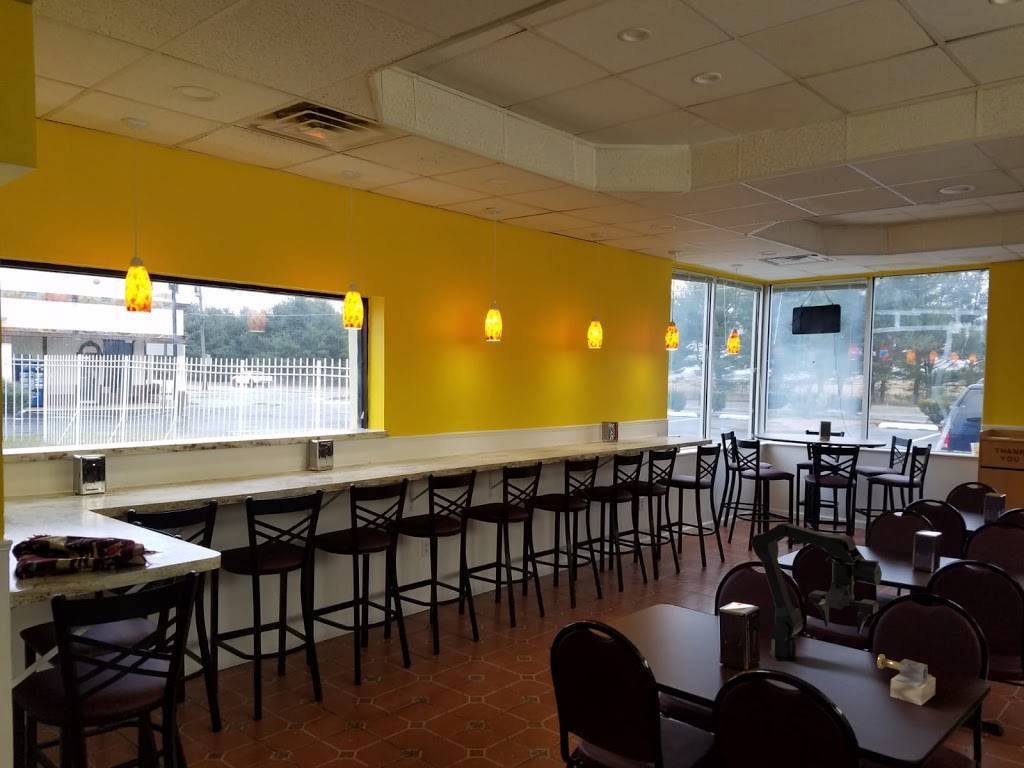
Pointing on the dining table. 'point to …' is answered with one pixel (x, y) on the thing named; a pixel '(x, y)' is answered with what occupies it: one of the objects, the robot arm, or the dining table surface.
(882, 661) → the pin
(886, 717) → the dining table surface
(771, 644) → the robot arm
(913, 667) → the hinge block
